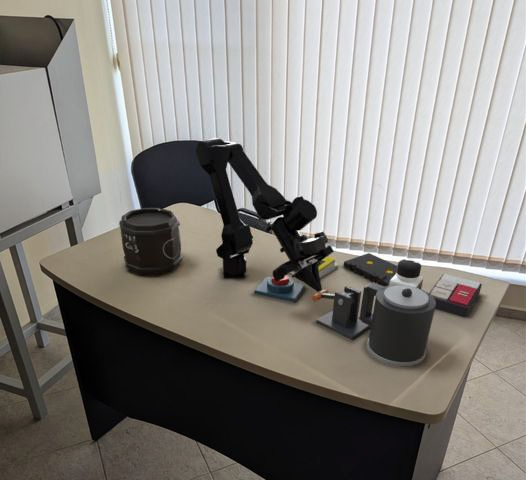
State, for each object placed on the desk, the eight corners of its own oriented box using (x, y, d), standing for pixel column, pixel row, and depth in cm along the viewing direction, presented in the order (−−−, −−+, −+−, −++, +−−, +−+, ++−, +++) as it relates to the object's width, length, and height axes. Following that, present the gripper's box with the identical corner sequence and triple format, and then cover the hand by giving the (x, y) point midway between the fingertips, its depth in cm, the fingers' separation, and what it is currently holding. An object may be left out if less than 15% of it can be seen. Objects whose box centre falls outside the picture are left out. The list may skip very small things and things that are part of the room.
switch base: (315, 323, 126) (319, 290, 121) (337, 311, 132) (340, 278, 127) (351, 341, 120) (356, 306, 115) (372, 327, 125) (377, 293, 120)
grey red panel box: (427, 293, 133) (443, 271, 144) (424, 307, 136) (440, 284, 146) (469, 305, 128) (483, 281, 139) (465, 319, 131) (479, 294, 141)
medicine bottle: (411, 310, 133) (419, 270, 126) (385, 303, 136) (392, 263, 130) (419, 299, 138) (427, 260, 132) (394, 292, 141) (401, 254, 135)
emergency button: (288, 261, 148) (314, 245, 158) (288, 274, 150) (313, 257, 160) (315, 269, 143) (340, 252, 153) (314, 283, 145) (338, 265, 156)
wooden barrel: (186, 252, 162) (183, 206, 154) (179, 277, 147) (176, 227, 138) (130, 252, 161) (124, 205, 153) (118, 277, 146) (111, 226, 138)
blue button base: (254, 294, 138) (254, 283, 137) (266, 281, 146) (266, 270, 144) (294, 303, 135) (295, 292, 133) (304, 289, 142) (305, 278, 140)
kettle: (343, 344, 119) (351, 283, 110) (375, 323, 127) (384, 264, 118) (406, 375, 109) (420, 310, 100) (435, 350, 117) (451, 288, 109)
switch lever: (312, 302, 127) (311, 293, 126) (324, 296, 130) (323, 287, 129) (346, 306, 119) (345, 297, 119) (358, 299, 122) (357, 290, 122)
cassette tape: (343, 267, 155) (343, 260, 154) (368, 258, 161) (369, 252, 160) (387, 289, 143) (388, 282, 142) (412, 278, 149) (414, 272, 148)
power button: (270, 284, 137) (270, 278, 137) (275, 277, 141) (275, 272, 140) (284, 287, 136) (285, 281, 135) (290, 280, 140) (290, 275, 139)
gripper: (283, 233, 116) (316, 291, 115) (331, 214, 127) (361, 267, 127) (258, 254, 124) (289, 308, 124) (305, 234, 136) (334, 284, 135)
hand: (320, 291), depth 127 cm, fingers closed
